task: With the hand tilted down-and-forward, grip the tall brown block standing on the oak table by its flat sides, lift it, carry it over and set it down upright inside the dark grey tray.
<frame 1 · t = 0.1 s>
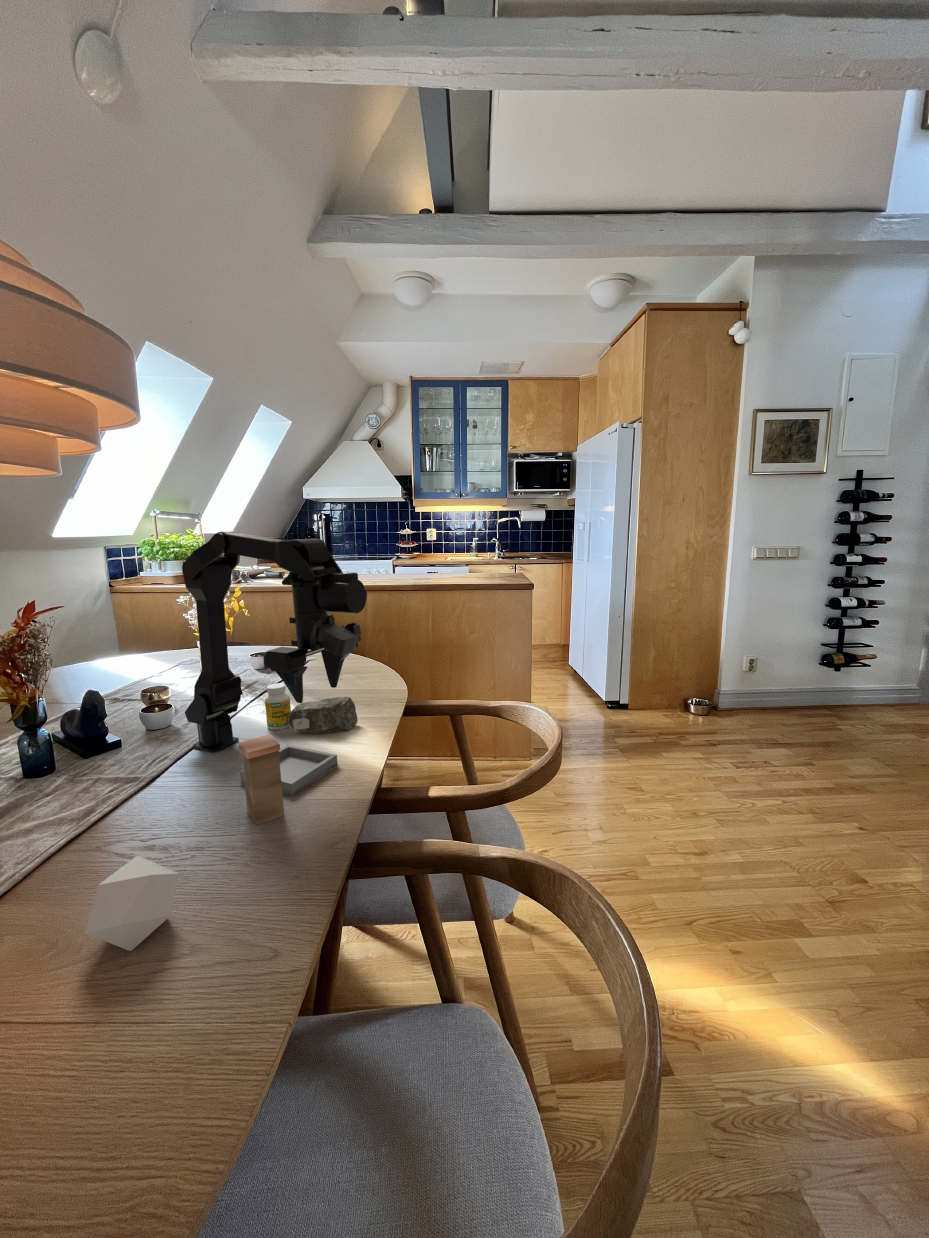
hand: (317, 694, 94), 15 cm above the table, tool pointing down, fingers open, 9 cm apart
stone: (324, 731, 116), on the table
tray: (290, 773, 95), on the table
brown block: (265, 814, 82), on the table
supplement bottle: (279, 726, 118), on the table
die: (139, 932, 59), on the table
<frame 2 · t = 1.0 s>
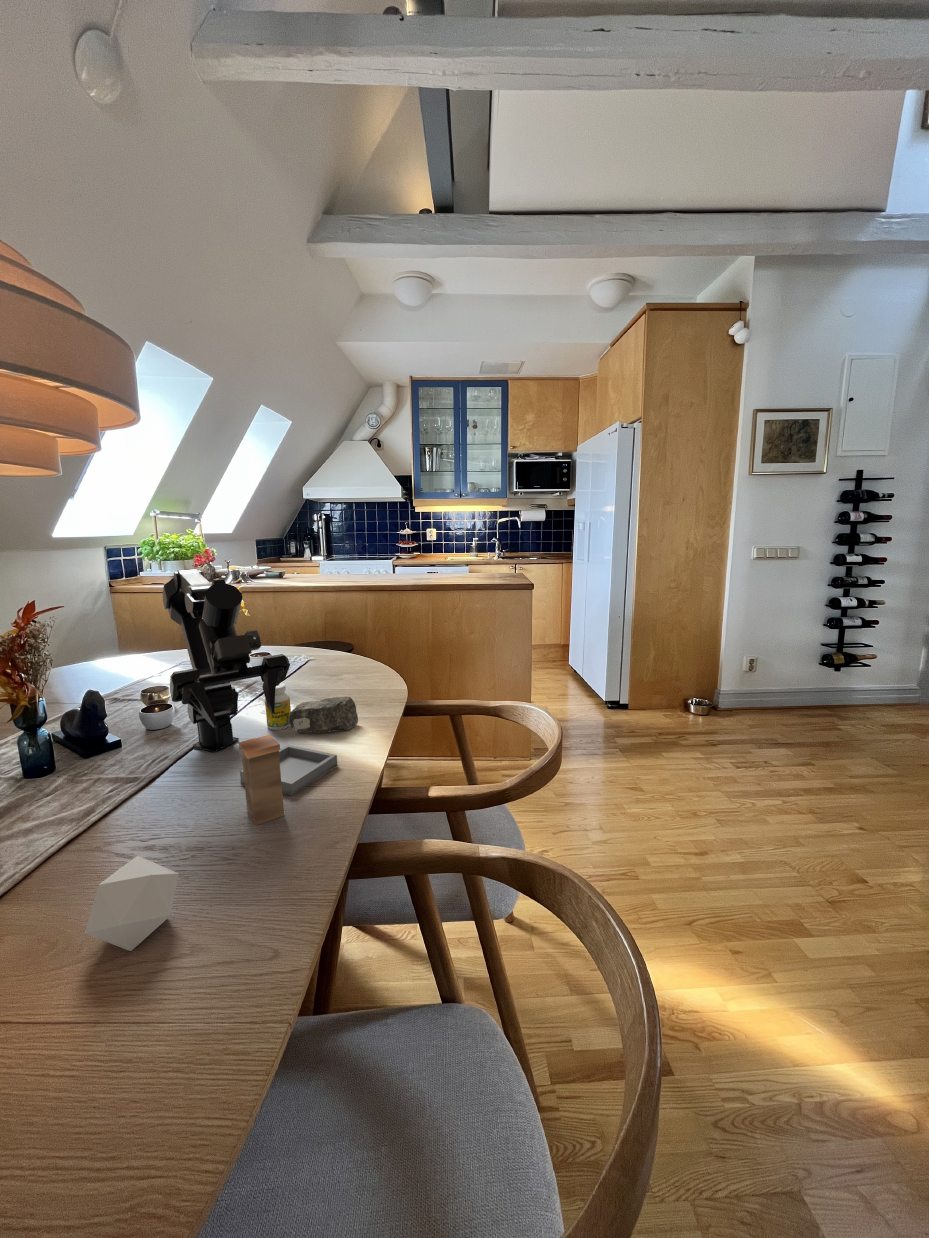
hand: (245, 719, 86), 13 cm above the table, tool tilted 45°, fingers open, 9 cm apart
nothing on the table moved.
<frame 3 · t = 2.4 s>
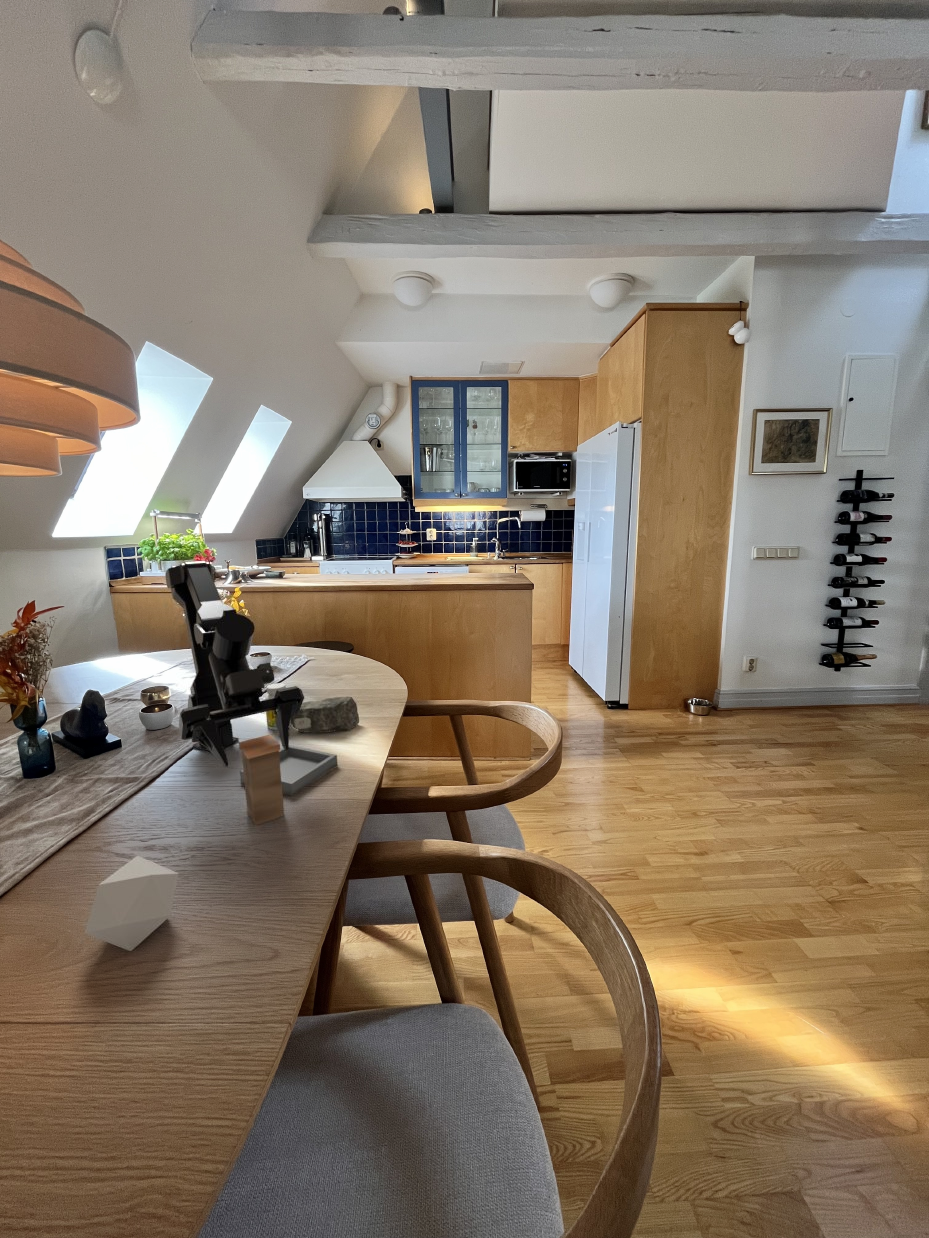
hand: (257, 757, 82), 9 cm above the table, tool tilted 45°, fingers open, 9 cm apart
nothing on the table moved.
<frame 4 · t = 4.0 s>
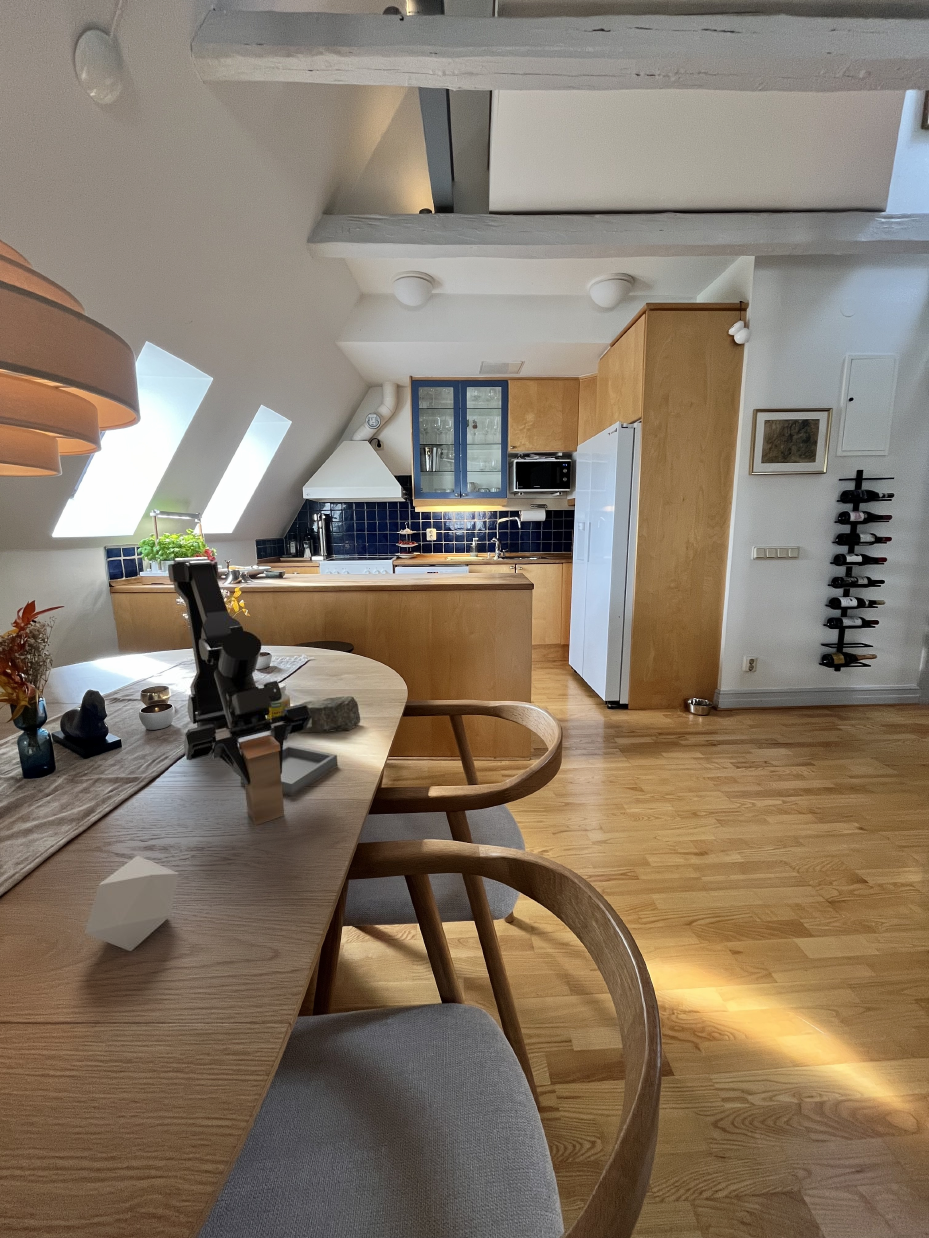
hand: (264, 778, 80), 7 cm above the table, tool tilted 45°, fingers closed on brown block, 4 cm apart
brown block: (265, 813, 82), on the table, touching gripper
everything else where it was.
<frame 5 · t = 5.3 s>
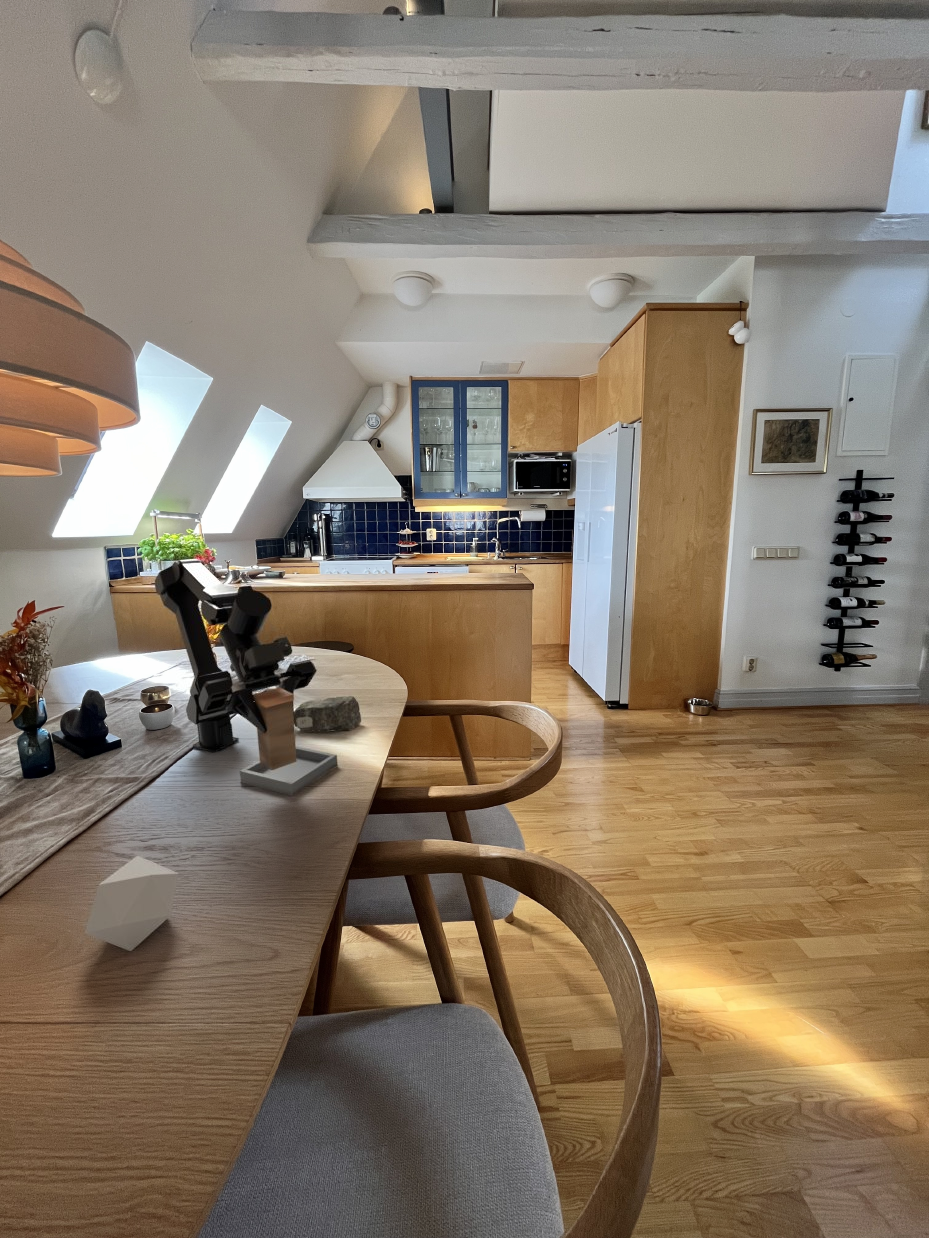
hand: (279, 727, 86), 12 cm above the table, tool tilted 45°, fingers closed on brown block, 4 cm apart
brown block: (278, 761, 88), point 6 cm above the table, touching gripper
everything else where it was.
when the fingers open (8 cm above the table, at t = 7.0 s): brown block stays where it is, resting on tray.
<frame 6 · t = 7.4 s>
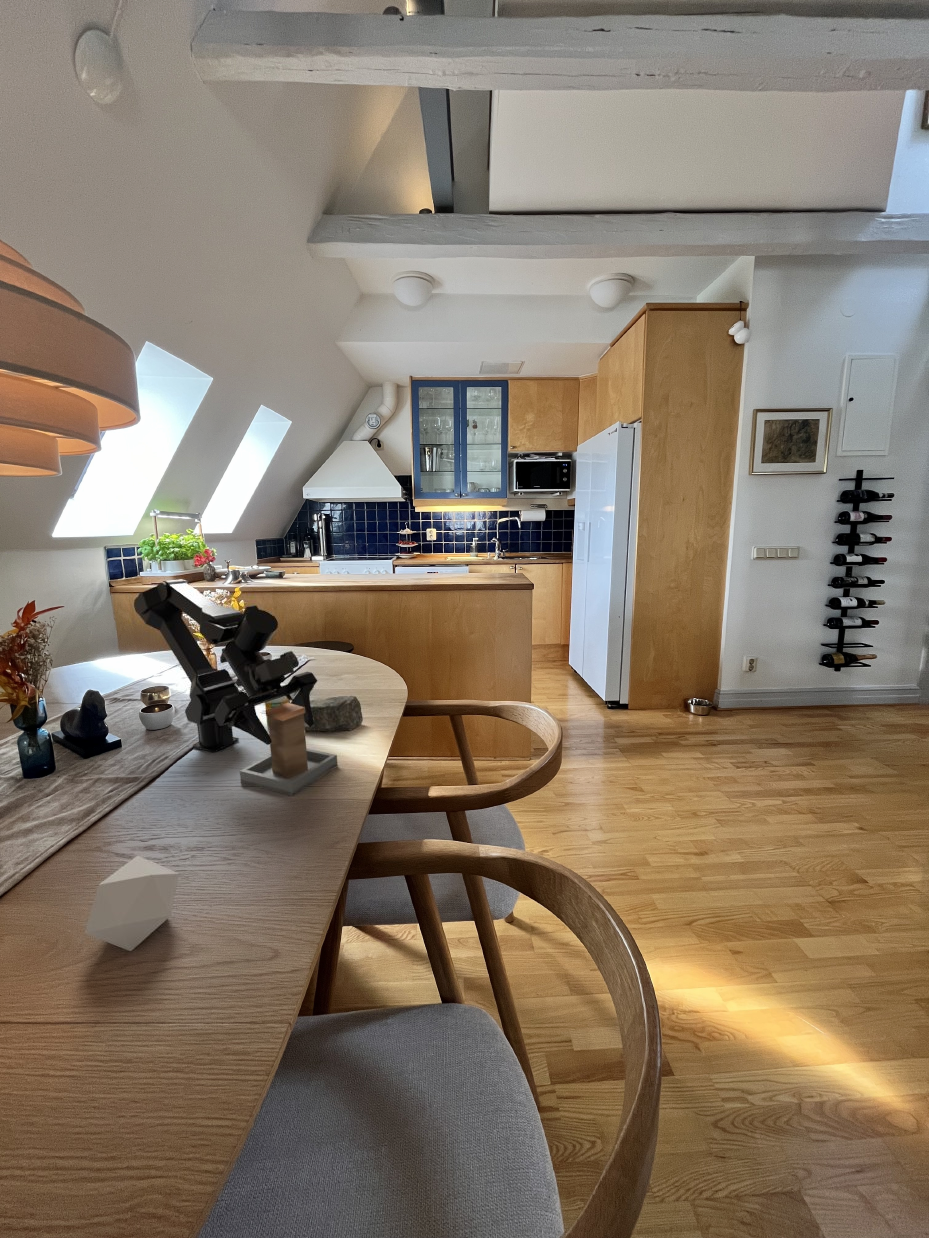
hand: (292, 734, 93), 8 cm above the table, tool tilted 45°, fingers open, 9 cm apart
brown block: (290, 770, 95), point 1 cm above the table, touching tray
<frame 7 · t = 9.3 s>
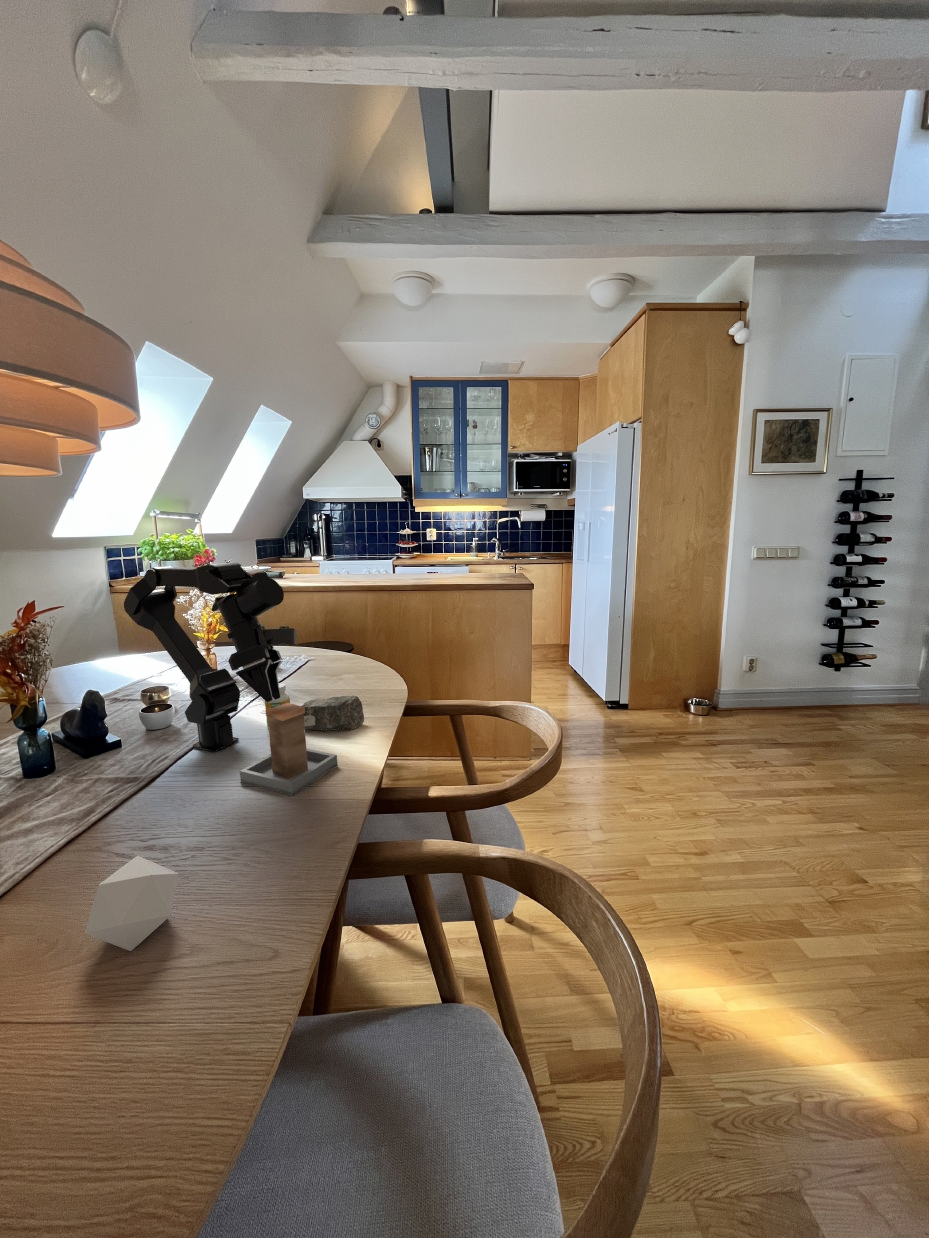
hand: (274, 699, 99), 12 cm above the table, tool tilted 25°, fingers open, 9 cm apart
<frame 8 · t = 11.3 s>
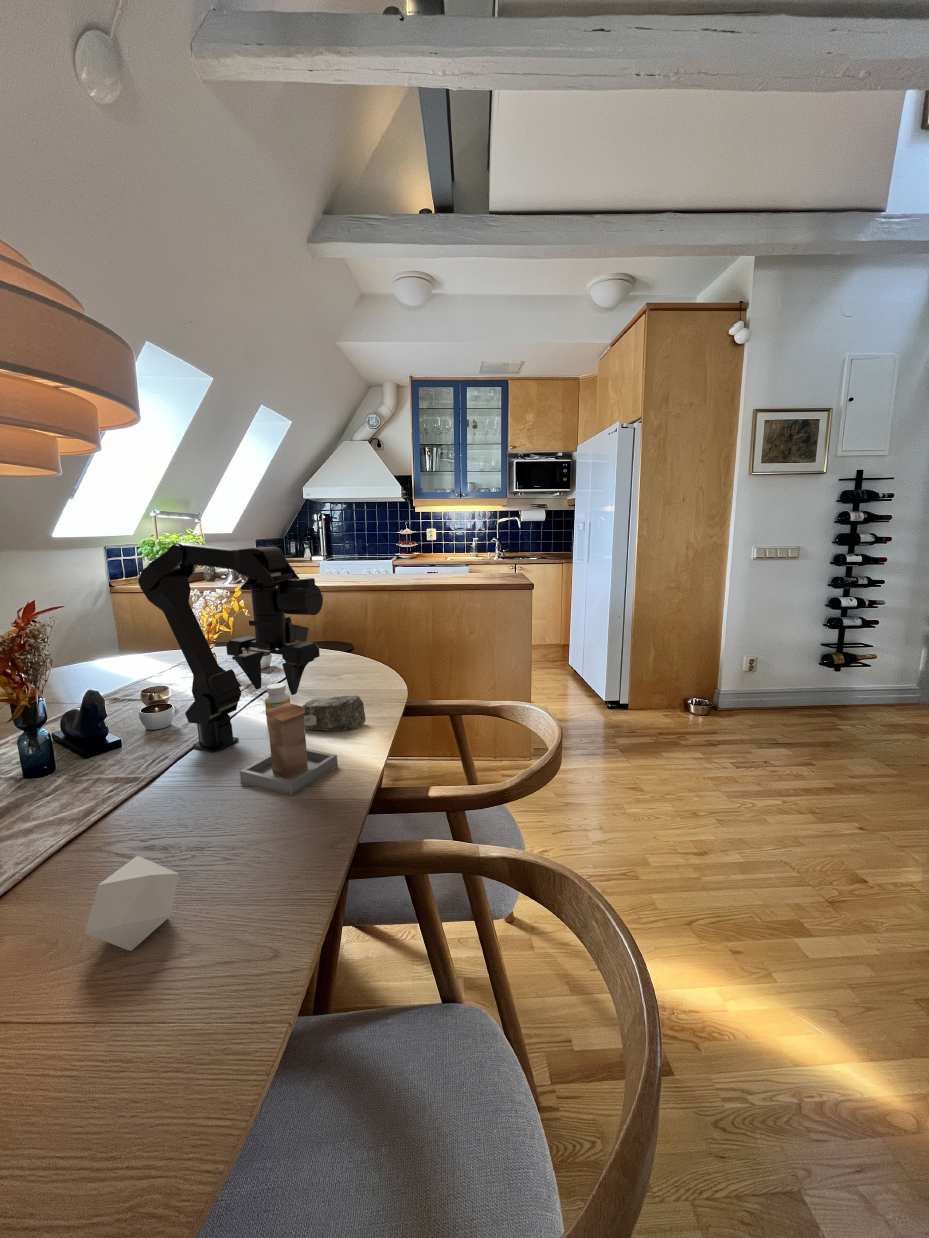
hand: (276, 691, 102), 13 cm above the table, tool pointing down, fingers open, 9 cm apart
at the end: brown block inside the target area on the tray (0.0 cm from its centre), point 0.6 cm above the tray's base; brown block tilted 0°; the gripper is holding nothing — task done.
